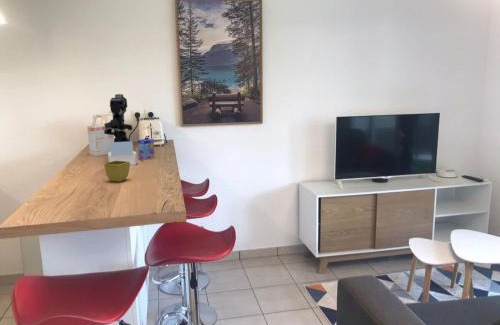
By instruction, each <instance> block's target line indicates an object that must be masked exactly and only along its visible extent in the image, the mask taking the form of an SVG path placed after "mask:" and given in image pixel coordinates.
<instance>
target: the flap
mask: <svg viewBox="0 0 500 325" xmlns="http://www.w3.org/2000/svg"><path fill="white" fill-rule="evenodd" d="M110 146H111V155H118V154H133V151H134V146H133V140H131V141H130V140H129V142H110Z"/></svg>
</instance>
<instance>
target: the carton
mask: <svg viewBox="0 0 500 325" xmlns="http://www.w3.org/2000/svg"><path fill="white" fill-rule="evenodd" d="M107 157H108V158H107V159H108V162H112V161H128V162H130V166H136V165H137V163H138V160H137V152H136V151H134V150H133V154H118V155H111V152H110V154H109V153H108V155H107Z"/></svg>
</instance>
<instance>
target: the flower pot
mask: <svg viewBox="0 0 500 325" xmlns="http://www.w3.org/2000/svg"><path fill="white" fill-rule="evenodd" d="M103 165H104V169H105V170H104V171H105V173H106V174H105V175H106V177H107V179H108V180H109V181H110V182H118V183H120V182H123V181H126V179H127V178H128V176H129V173H130V166H131V165H130V162H128V161H112V162H109V161H108V162H106V163H103Z"/></svg>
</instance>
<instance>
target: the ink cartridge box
mask: <svg viewBox="0 0 500 325" xmlns="http://www.w3.org/2000/svg"><path fill="white" fill-rule="evenodd" d="M154 142H155V139H154V138H150V135H146V136H145V137H144V138H142V139H138V140H137V149H138V150H137V151H138V155H137V156H138V160H141V161H147V160H150V159H154V158H155V143H154Z"/></svg>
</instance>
